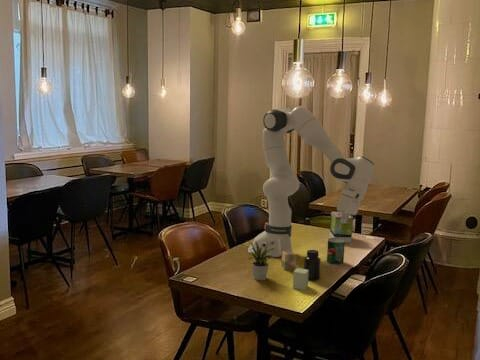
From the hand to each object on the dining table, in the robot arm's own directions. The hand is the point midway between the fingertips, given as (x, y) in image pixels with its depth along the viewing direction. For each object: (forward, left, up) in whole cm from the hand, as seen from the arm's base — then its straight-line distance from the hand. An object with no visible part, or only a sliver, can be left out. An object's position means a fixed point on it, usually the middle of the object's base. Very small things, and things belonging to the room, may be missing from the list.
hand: (342, 222), depth 210 cm
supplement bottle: (-12, -10, -23) cm, 28 cm away
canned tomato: (-2, +15, -23) cm, 28 cm away
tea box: (+1, +58, -23) cm, 62 cm away
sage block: (-16, -22, -23) cm, 36 cm away
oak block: (-23, +1, -23) cm, 32 cm away
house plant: (-35, -16, -23) cm, 45 cm away
